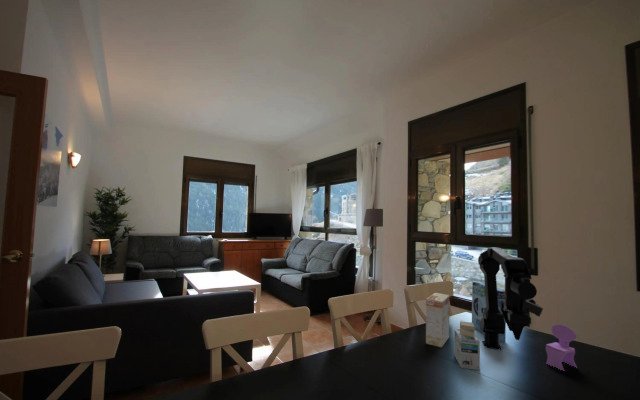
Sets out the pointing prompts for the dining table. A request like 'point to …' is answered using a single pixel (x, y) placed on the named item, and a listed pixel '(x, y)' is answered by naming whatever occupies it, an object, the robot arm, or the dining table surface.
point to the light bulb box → (467, 351)
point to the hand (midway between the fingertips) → (514, 335)
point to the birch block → (467, 329)
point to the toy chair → (561, 347)
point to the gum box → (483, 305)
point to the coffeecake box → (437, 319)
